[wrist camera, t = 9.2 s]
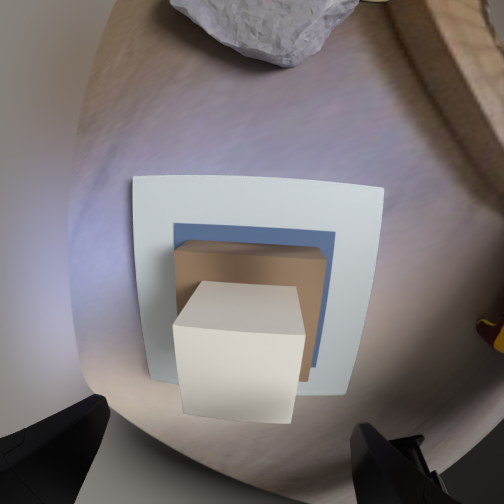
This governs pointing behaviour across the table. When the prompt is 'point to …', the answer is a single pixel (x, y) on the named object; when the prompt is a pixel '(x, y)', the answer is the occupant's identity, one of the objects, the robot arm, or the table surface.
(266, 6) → the stone block
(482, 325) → the decorative lantern
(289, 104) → the table surface
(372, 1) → the hand bell
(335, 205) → the board
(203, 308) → the plastic cube
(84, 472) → the robot arm
